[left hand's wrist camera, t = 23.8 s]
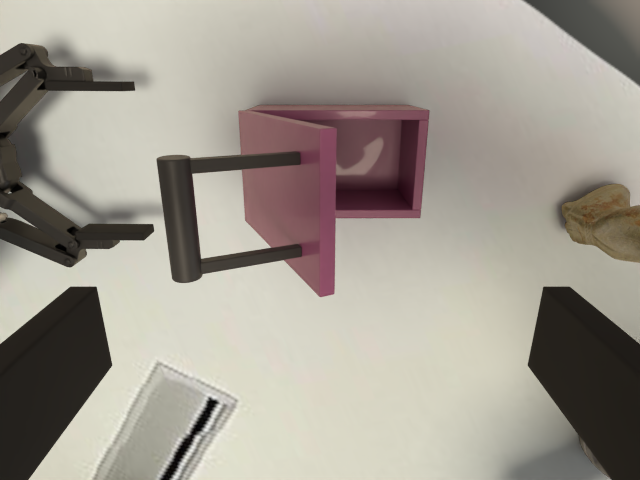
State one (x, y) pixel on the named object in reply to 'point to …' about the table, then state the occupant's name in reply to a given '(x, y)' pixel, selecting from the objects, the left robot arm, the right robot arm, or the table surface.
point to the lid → (263, 200)
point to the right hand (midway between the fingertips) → (139, 163)
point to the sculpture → (606, 222)
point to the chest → (371, 155)
